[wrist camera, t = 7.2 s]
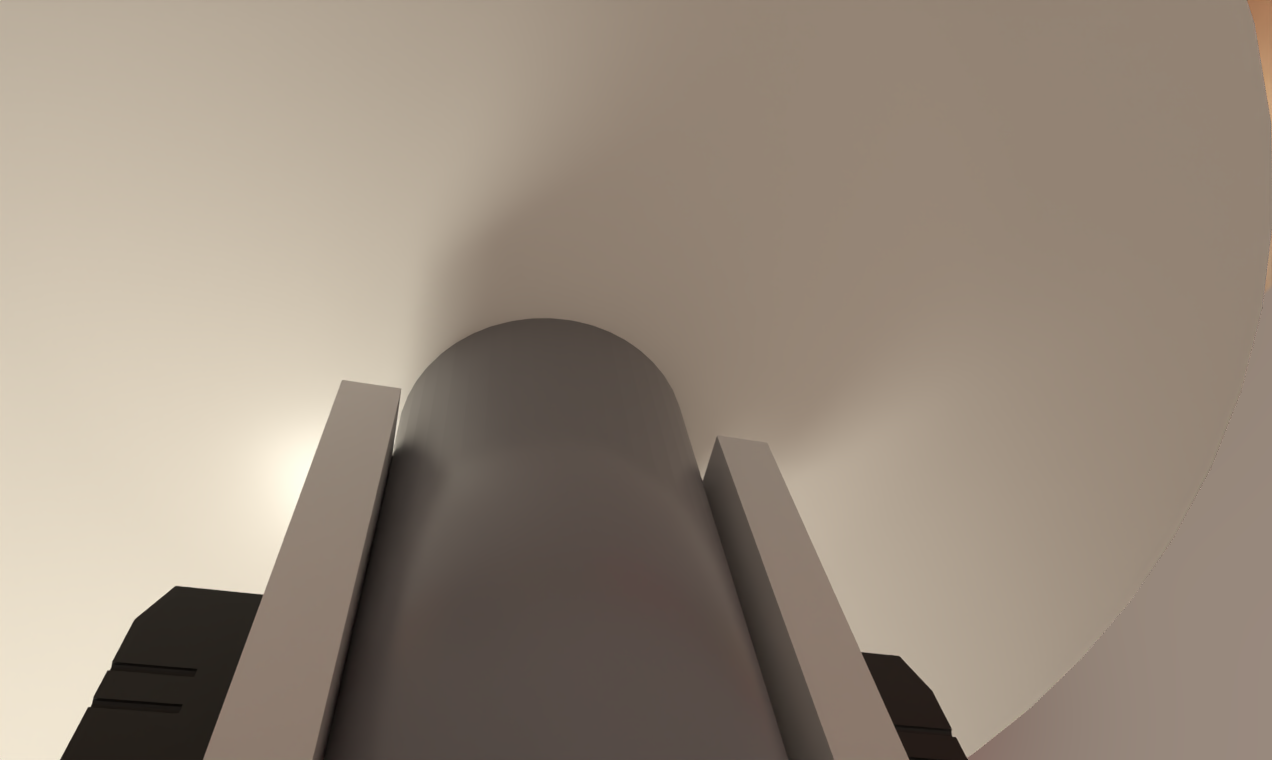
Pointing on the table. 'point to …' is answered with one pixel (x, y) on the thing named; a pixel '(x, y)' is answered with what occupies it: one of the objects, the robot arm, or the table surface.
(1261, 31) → the table surface
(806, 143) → the lid
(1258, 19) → the table surface
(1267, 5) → the table surface
